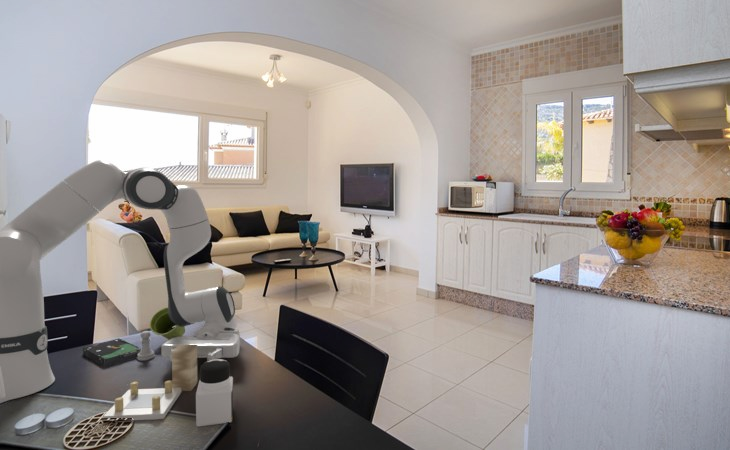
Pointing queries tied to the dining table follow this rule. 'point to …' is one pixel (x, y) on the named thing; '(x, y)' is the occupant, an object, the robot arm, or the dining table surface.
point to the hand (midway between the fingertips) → (191, 358)
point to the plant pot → (165, 325)
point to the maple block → (184, 367)
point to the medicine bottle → (214, 394)
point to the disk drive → (111, 352)
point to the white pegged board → (144, 402)
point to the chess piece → (145, 347)
